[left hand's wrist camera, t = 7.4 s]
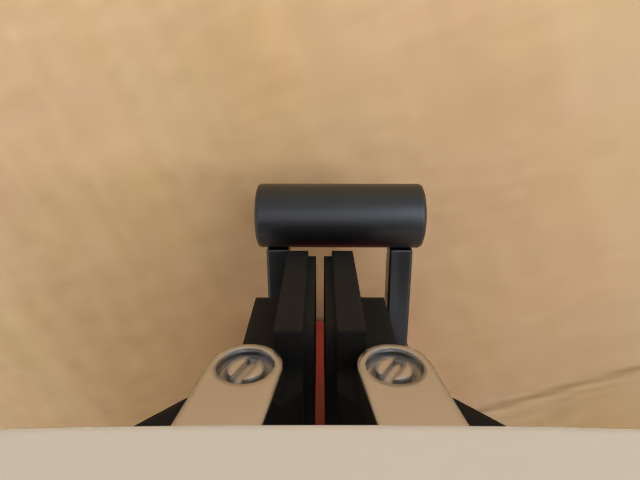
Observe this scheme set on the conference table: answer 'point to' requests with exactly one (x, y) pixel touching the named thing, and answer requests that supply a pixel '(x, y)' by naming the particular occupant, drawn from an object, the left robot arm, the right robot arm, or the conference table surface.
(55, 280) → the conference table surface
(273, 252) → the drawer
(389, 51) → the conference table surface
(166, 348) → the conference table surface
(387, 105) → the conference table surface
